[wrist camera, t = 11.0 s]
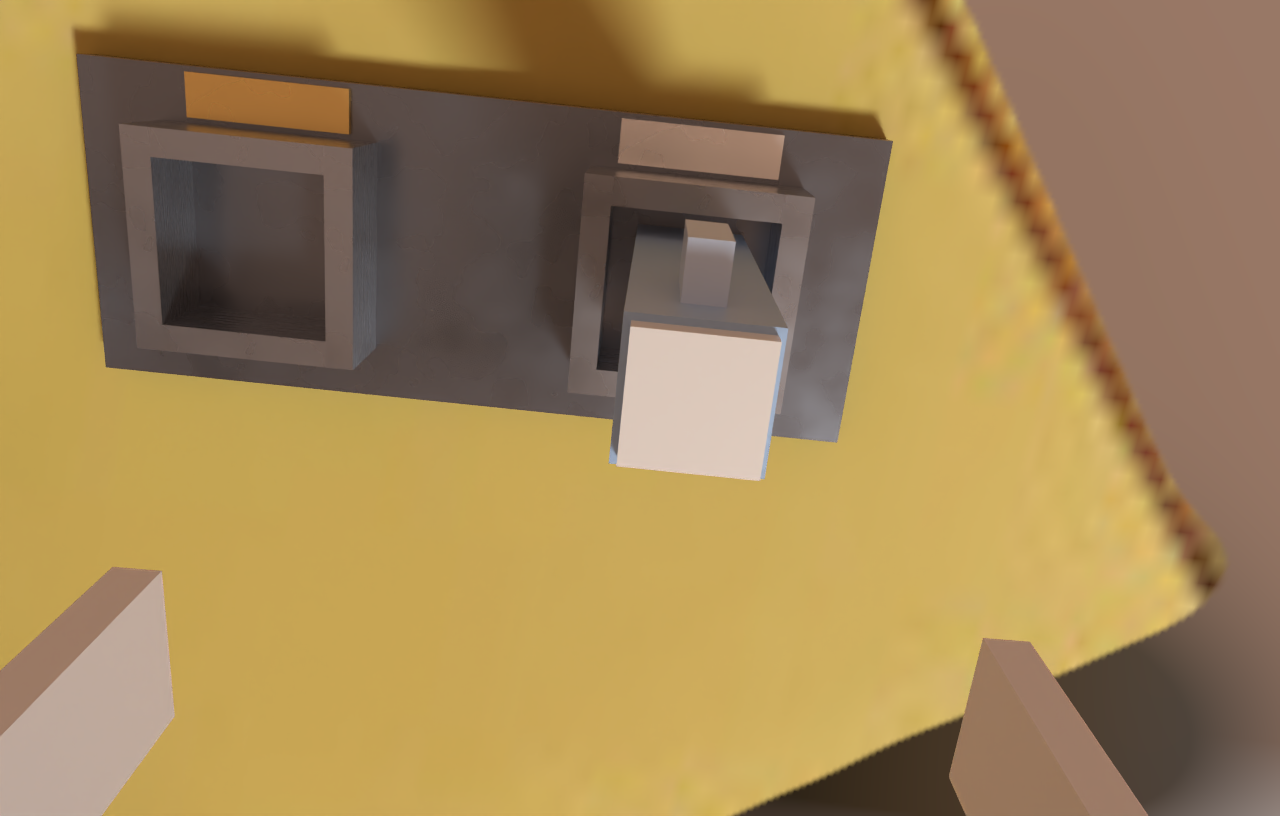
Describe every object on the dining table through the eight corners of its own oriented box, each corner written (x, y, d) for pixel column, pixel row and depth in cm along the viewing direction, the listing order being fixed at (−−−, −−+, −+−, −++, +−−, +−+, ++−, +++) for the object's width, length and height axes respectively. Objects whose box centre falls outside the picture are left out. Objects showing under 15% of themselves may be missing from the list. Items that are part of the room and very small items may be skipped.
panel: (119, 360, 39) (61, 390, 36) (92, 54, 35) (24, 52, 31) (833, 433, 40) (850, 471, 36) (886, 139, 36) (913, 147, 32)
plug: (628, 325, 37) (607, 472, 23) (642, 178, 35) (629, 245, 22) (728, 335, 37) (766, 488, 24) (748, 189, 35) (803, 263, 22)
